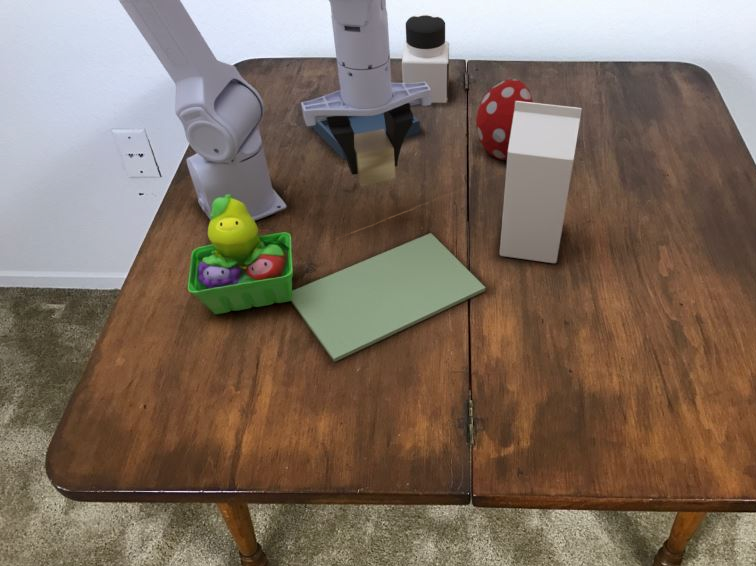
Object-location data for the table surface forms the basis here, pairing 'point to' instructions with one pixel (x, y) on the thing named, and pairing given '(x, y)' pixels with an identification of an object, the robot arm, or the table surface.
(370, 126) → the tray
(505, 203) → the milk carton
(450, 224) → the table surface
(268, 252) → the fruit basket
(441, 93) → the medicine bottle
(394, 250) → the mat
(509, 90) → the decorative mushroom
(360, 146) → the block
